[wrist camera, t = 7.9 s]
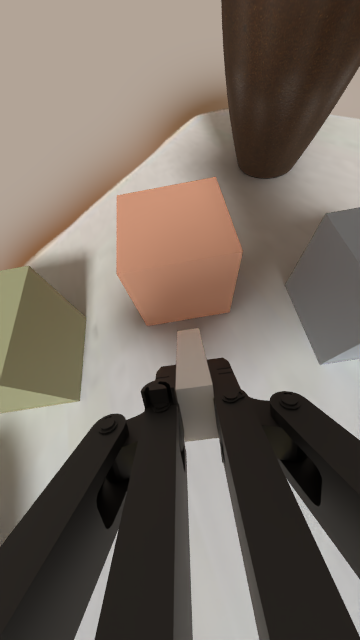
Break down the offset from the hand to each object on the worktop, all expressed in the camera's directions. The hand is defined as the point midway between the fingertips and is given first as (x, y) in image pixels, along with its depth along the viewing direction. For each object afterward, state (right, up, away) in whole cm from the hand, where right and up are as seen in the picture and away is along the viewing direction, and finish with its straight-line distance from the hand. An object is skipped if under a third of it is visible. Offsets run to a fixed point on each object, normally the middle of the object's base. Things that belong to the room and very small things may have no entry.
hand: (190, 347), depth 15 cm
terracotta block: (0, +5, +7) cm, 9 cm away
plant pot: (+11, +24, +15) cm, 30 cm away
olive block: (-14, -2, +5) cm, 15 cm away
